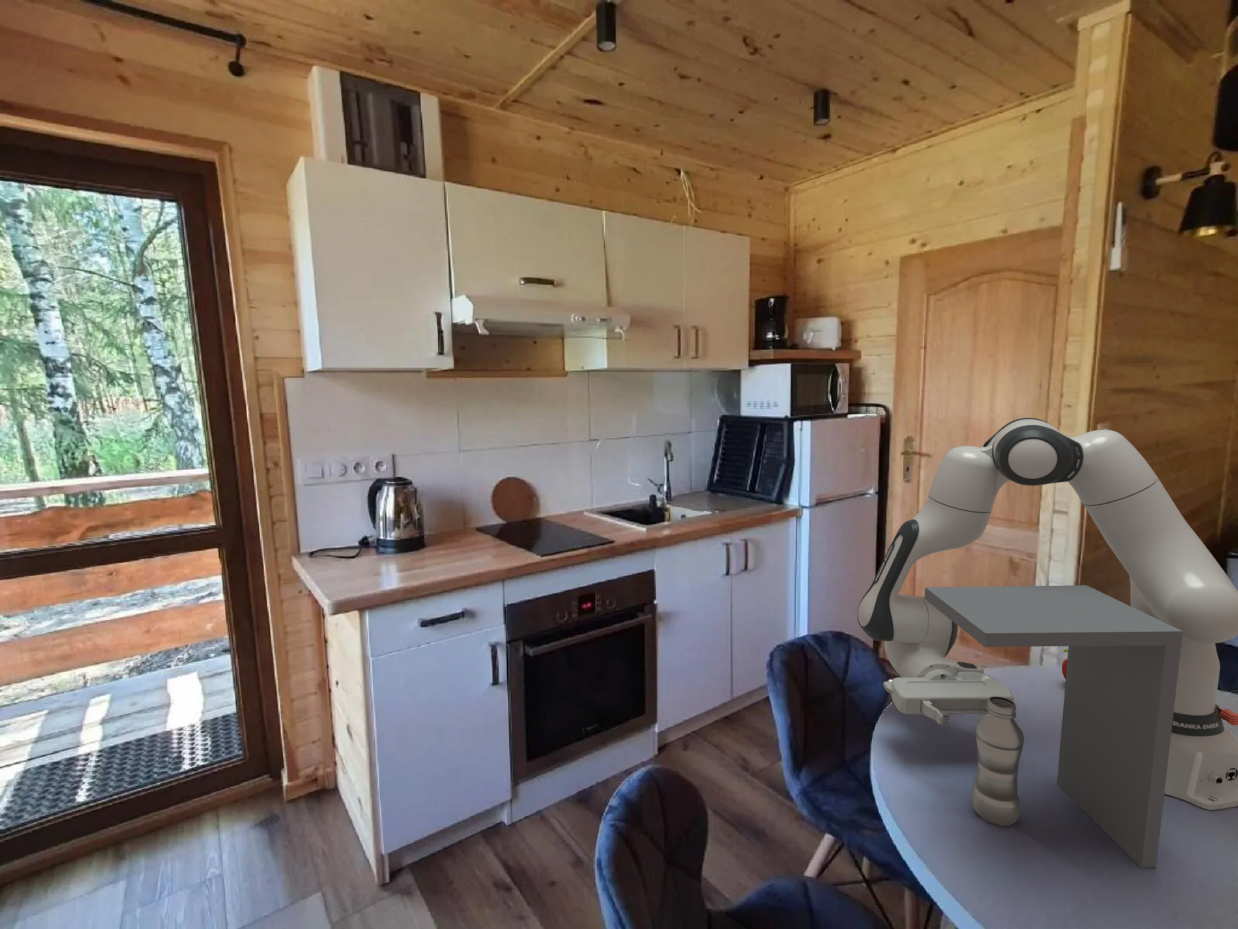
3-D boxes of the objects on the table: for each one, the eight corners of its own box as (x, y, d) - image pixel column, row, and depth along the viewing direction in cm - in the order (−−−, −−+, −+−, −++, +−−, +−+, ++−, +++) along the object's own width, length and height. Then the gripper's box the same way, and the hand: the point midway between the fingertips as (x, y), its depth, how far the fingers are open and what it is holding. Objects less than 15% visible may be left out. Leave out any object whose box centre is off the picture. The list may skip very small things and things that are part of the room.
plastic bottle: (1024, 836, 93) (1034, 716, 90) (974, 826, 95) (982, 709, 93) (1012, 807, 99) (1021, 694, 96) (966, 799, 101) (973, 688, 99)
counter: (1068, 784, 104) (1086, 585, 99) (1155, 868, 87) (1182, 631, 81) (915, 783, 106) (925, 587, 100) (970, 866, 88) (985, 633, 83)
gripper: (880, 665, 117) (911, 704, 103) (988, 664, 116) (1034, 703, 102) (879, 695, 118) (910, 737, 104) (986, 695, 117) (1031, 737, 103)
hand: (972, 720), depth 103 cm, fingers open, 8 cm apart
